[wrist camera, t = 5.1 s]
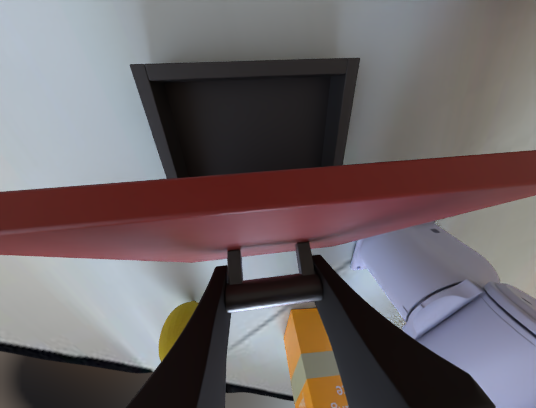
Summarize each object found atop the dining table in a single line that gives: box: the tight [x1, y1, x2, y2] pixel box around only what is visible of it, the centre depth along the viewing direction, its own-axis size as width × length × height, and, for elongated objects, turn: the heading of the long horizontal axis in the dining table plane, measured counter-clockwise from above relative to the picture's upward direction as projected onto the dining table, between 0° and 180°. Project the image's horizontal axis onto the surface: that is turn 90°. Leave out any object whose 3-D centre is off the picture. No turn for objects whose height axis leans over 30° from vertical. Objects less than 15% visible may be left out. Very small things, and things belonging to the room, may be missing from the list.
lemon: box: [159, 301, 199, 362], centre depth 23 cm, size 6×6×8 cm
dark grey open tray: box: [130, 58, 360, 179], centre depth 16 cm, size 15×14×3 cm
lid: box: [0, 150, 536, 313], centre depth 10 cm, size 15×14×4 cm
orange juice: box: [284, 308, 349, 408], centre depth 24 cm, size 8×9×20 cm
